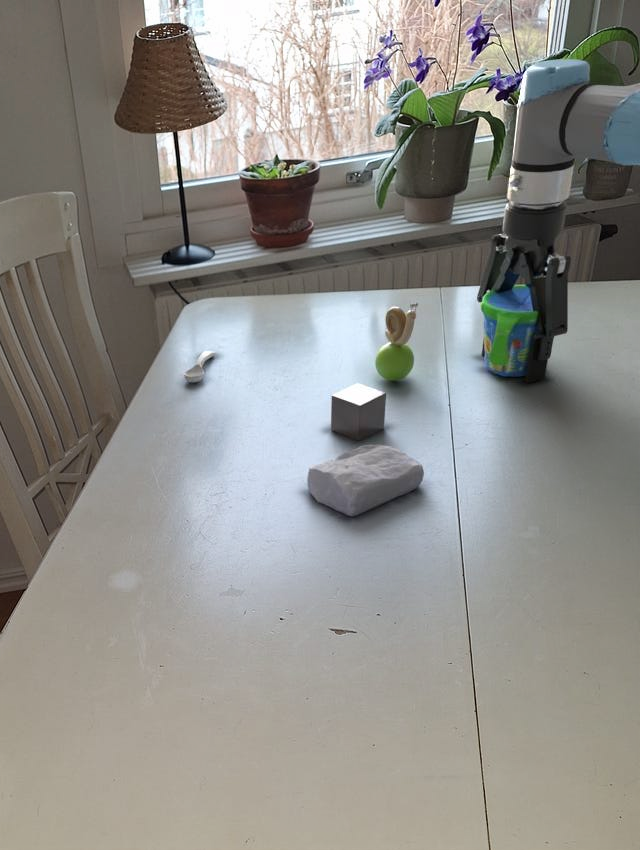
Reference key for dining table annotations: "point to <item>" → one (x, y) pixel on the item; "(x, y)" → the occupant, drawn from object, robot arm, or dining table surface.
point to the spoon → (198, 367)
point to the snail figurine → (397, 345)
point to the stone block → (364, 478)
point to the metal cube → (358, 411)
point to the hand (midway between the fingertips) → (512, 366)
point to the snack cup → (508, 330)
